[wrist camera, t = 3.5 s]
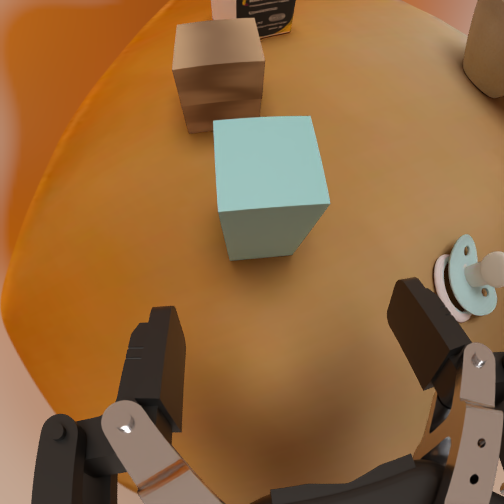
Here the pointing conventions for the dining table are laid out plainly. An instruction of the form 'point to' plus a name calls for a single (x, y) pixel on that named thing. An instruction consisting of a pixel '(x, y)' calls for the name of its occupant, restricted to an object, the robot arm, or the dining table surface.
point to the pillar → (268, 184)
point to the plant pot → (486, 48)
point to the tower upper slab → (218, 61)
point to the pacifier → (469, 279)
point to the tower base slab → (218, 113)
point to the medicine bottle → (258, 13)
